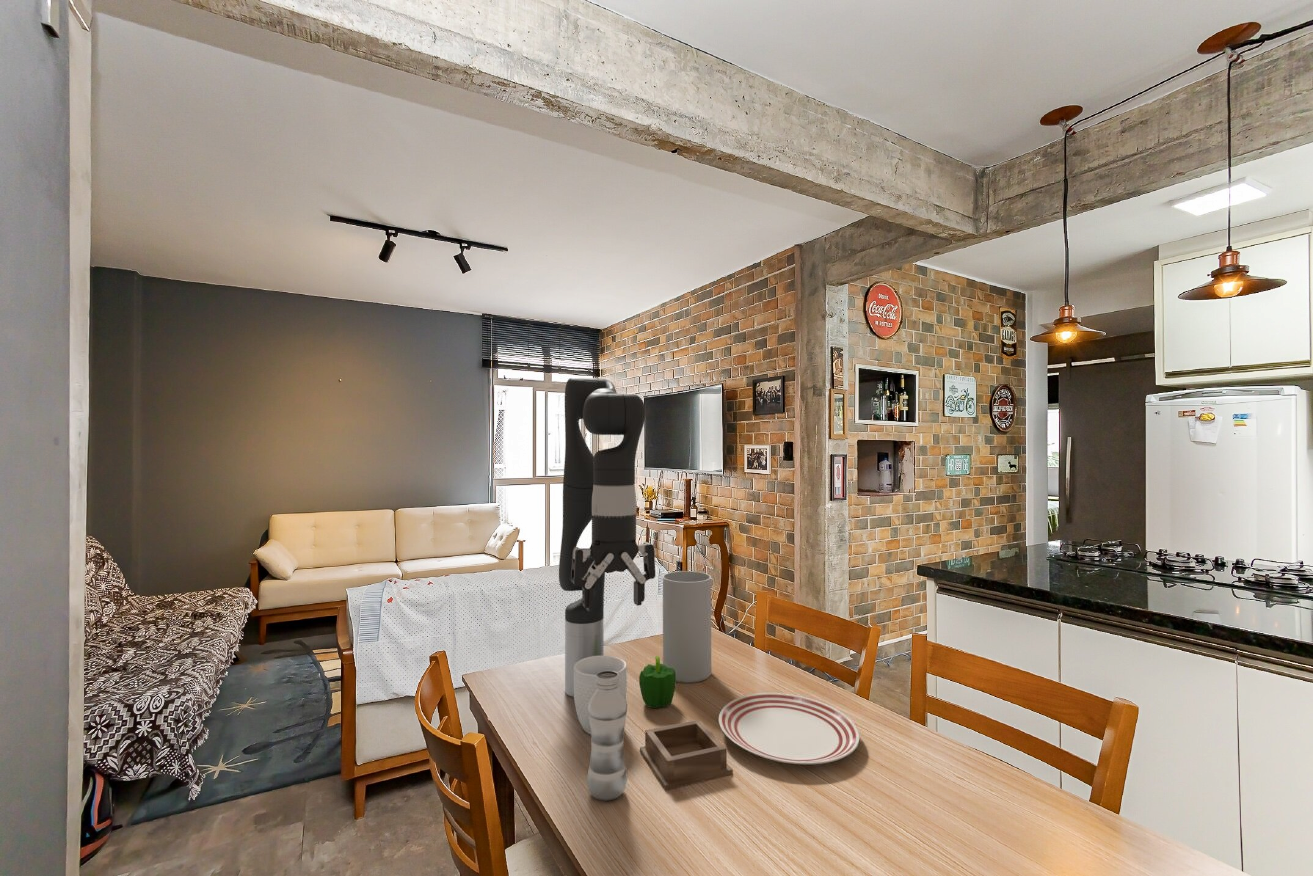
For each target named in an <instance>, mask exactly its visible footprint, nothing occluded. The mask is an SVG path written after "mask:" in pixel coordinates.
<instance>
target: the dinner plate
mask: <svg viewBox="0 0 1313 876" xmlns="http://www.w3.org/2000/svg"><path fill="white" fill-rule="evenodd" d="M718 724H719V726H720V729H721V730H722V732H723V734H724V735H725V736H726V737H727V738H728V739H729V740H730V741H731V742H733V743H734V744H735V745H737V746H739V748H741V749H743V750H745V751H747V752H749V753H750V754H753V755H755V756H758V757H761V758H764V759H767V760H769V761H770V760H771V761H774V762H780V763H783V764H794V765H820V764H821V765H822V764H829V763H832V762H837V761H839V760H841V759H844V758H846V757H848V756H849V755H851V754H852V753H853V752H854V751H855V750H856V749H857V748H858V746H859V743H860V732H859V730H858V727H857V726H856V724H855V723H854V722H853V720H851V718H850V717H849V716H847V715H846V714H845V713H843V712H842V711H840V710H839V709H837V708H835V707H833V706H831V705H829V704H827V703H825V702H822V701H819V700H818V699H817V700H816V699H813V698H810V697H806V696H801V695H797V694H792V693H783V692H758V693H751V694H747V695H744V696H743V695H742V696H739V697H737V698H735V699H733V700H731V701H730V702H728V703H726V704H725V705H724V706H723V708H722V709H721V710H720V712H719V715H718Z"/></svg>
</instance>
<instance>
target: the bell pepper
mask: <svg viewBox="0 0 1313 876" xmlns="http://www.w3.org/2000/svg"><path fill="white" fill-rule="evenodd" d="M654 660H655V665H653V664H650V663H648V664H647V665H645V667H644V668H643V670H641V671H640V673H639V677H638V678H639V679H638V681H639V689H640V694H641V698H642V701H643V702H644V704H645V705H646V706H647V707H649V708H652V709H656V708H659V707H662V708H665V707H666V708H667V707H669V706H670V705H671V703H672V702H673V698H674V695H675V689H676V673H675V671H674V669H673V668H667V666H665V665H663V662H662V663H661V659H660V657H659V655H656V656H655V658H654Z"/></svg>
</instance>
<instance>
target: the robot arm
mask: <svg viewBox="0 0 1313 876" xmlns="http://www.w3.org/2000/svg"><path fill="white" fill-rule="evenodd" d="M645 405H646V404H645V402H644V400H643V399H642V398H641V397H640V396H639V395H638V394H634V393H617V389H616V387H615V385H614V383H613V382H612V381H611V380H608V379H606V378H601V377H600V378H599V377H596V378H595V377H577V376H576V377H570V378H568V379H567V381H566V383H565V387H564V428H565V429H564V432H565V433H564V434H565V435H564V436H565V438H564V439H565V441H564V442H565V443H564V444H565V445H564V447H565V448H564V449H565V451H564V464H563V465H564V467H563V478H562V479H563V481H562V533H561V542H560V553H559V563H558V582H559V585H560V588H561V589H562V590H563V591H565V592H576V591H577V592H579V591H581V593H582V595H581V598H580V599H577V600H576V601H573V602H571V603H569V604H568V605H567V606H566V608H565V610H564V692H565V694H566V695H568V696H569V697H572V698H574V665H575V663H576V662H578V661H579V660H581V659H584V658H587V657H592V656H605V653H604V651H605V650H604V648H605V647H604V645H605V643H604V642H605V641H604V638H605V637H604V636H605V635H604V633H605V631H604V624H605V623H604V620H605V619H604V618H605V617H604V615H605V614H604V610H605V608H604V607H605V605H604V604H605V601H604V600H605V599H604V597H605V579H606V578H605V577H606V574H611V573H615V572H620V573H622V572H625V571H626V570H627V572H629V573H630V574H631V576H632V577H633V579H634V581H633V604H634V605H635V606H638V607H639V606H642V604H643V602H644V601H645V598H646V597H645V592H646V589H645V587H646V586H645V585H646V582H647V581H649V580H653V579H655V577H656V562H655V561H656V558H655V546H654V544H651V543H649V542H647V541H644V542H643V543H642V544H637V509H638V506H637V496H636V495H637V494H636V477H635V476H636V458H637V457H636V456H637V450H638V446H639V441H640V438H641V435H642V432H643V428H644V424H645V421H646V414H647V411H646V410H647V409H646V406H645ZM580 420H583V424H584V427H585V429H586V431H588V433H590V434H592V435H598V436H623V438H622V440H621V442H620V443H619V444H618V445H617V446H613V447H610V448H605V449H600V450H597V451H596V452H595V454H593V453H592V451H591V450H590V448H589V447H588V445H587V443H586V440H585V438H584V437H583V434H582V431H581V428H580V427H581V426H580ZM590 522H591V543H590V546H589V548H582V547H581V548H580V547H578V543H579V540H580V538H581V536H582V534H583V532H584V531H585V530H586V528H587V526H588V525H589V524H590ZM638 553H639V554H640V556H641V557H642V560H643V571H642V572H641V570H640V568H639V567H638V565H636V563H635V562H634V559H635V558H636V557H637V555H638Z"/></svg>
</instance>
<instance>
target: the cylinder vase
mask: <svg viewBox="0 0 1313 876" xmlns="http://www.w3.org/2000/svg"><path fill="white" fill-rule="evenodd" d="M662 664H663V665H665V666H667V668H673V669H674V671H675V673H676V682H677V683H681V684H682V683H683V684H692V683H699V682H702V681H705V680H707V679H708V678H709V677H710V676H711V675H712V575H710V574H709V573H706V572H700V571H691V570H690V571H689V570H680V571H671V572H667V573H664V574H663V575H662ZM676 682H675V683H676Z"/></svg>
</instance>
